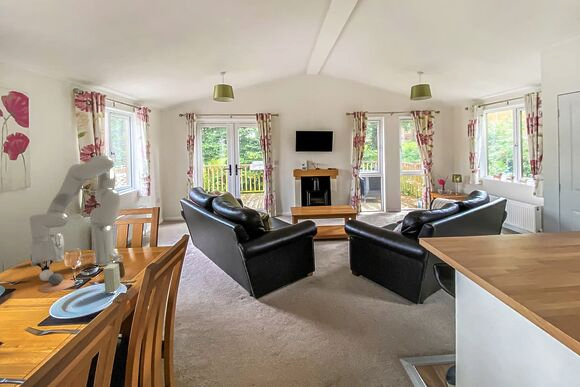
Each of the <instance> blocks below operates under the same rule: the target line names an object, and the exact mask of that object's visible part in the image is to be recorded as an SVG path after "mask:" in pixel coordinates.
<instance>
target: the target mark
mask: <svg viewBox="0 0 580 387" xmlns="http://www.w3.org/2000/svg"><path fill="white" fill-rule="evenodd" d="M75 284H76V280H73V279H63V280H62V282H61V283H60V284H58V285H51V284H50V283H49V282H48V283H46V284H44V285H41V286H40V287H39V289H38V290H39V292H41V293H55V292H59V291H63V290H66V289H69V288H71V287H73V286H74V285H75Z"/></svg>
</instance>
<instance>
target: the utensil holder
mask: <svg viewBox="0 0 580 387" xmlns="http://www.w3.org/2000/svg"><path fill="white" fill-rule="evenodd" d="M109 256H110V259H111V260H112V264H118V263H119V272H120V279H121V278H124V277H125V276H126V272H125V271H126V269H125V266H124V262H123V260H124V259H123V258H124V255H123V256H121V258H120V257H119V258H118V261H117V262H115V263H113V258H112V256H111V254H110V255H109ZM122 257H123V258H122ZM120 259H121V260H120Z"/></svg>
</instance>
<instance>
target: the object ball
mask: <svg viewBox="0 0 580 387" xmlns="http://www.w3.org/2000/svg"><path fill="white" fill-rule="evenodd" d="M62 280H64V277H63V274H60V273H57V272H56V273H55V272H54V273H53V274H52V275H51V276H50V277H49V281H48V283H50V284H51V285H58V284H60V283H61V282H62Z"/></svg>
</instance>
